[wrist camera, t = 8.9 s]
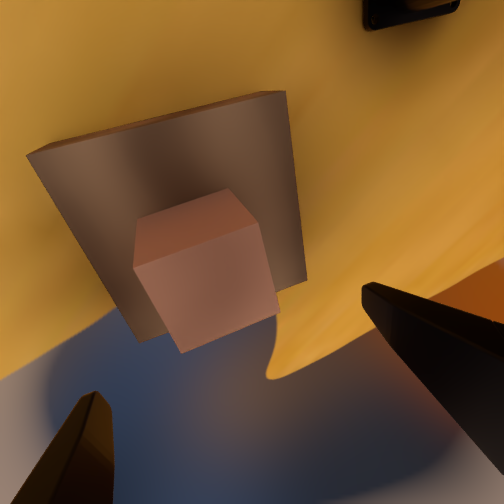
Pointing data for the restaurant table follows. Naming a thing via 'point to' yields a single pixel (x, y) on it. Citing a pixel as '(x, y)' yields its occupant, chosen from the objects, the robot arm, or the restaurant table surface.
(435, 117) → the restaurant table surface
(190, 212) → the terracotta cube
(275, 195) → the walnut block
